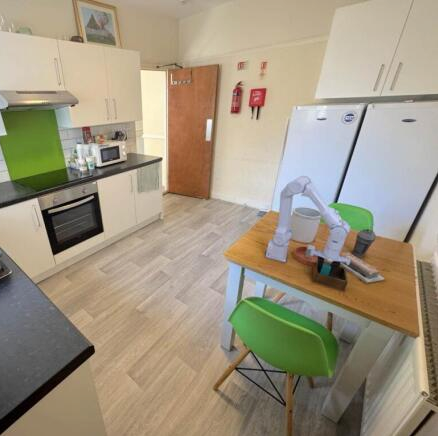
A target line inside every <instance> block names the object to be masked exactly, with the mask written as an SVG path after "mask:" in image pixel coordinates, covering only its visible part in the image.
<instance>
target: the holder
mask: <svg viewBox="0 0 438 436" xmlns="http://www.w3.org/2000/svg"><path fill="white" fill-rule="evenodd" d="M318 268H319V262H318V260H316V263H315V265H314V266H313V269H312V270H313V271H312V273H313V274H312V282H313V283H316V284H319V285H322V286H325V287H328V288H332V289H334V290H339V291H341V292H344V291H345V289H346V287H347V285H348V283H349V281H348V275H347V270H346V268H345V267H342V266H339V267H337V268H335V269H334V270H333V271H332V272H331V273H330V274H329V275H328V276H327V275H323V274H320V271H318Z"/></svg>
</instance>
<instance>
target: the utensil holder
mask: <svg viewBox="0 0 438 436" xmlns="http://www.w3.org/2000/svg"><path fill="white" fill-rule="evenodd" d="M320 213H321V211H320V210H319V208H315V207H312V206H309V205H307V206H306V205H298V206H295V207H292V212H291V221H290V226H291V227H292V229H291V230H292V233H293V237H292V238H291V239H292V240H293V241H296V242H299V243H307V244H308V243H313V241H314V240H315V237H316V235H317V233H318V229H319V226H320V223H321V220H322V217H321V216H320Z"/></svg>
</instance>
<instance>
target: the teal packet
mask: <svg viewBox="0 0 438 436" xmlns="http://www.w3.org/2000/svg"><path fill="white" fill-rule="evenodd" d="M331 263H332V262H330V261H326V262H325V261H324V263H323V265H322V268H321V270H320V274H323V275H327V276H328V275H329V272H330V270H331Z"/></svg>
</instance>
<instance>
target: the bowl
mask: <svg viewBox="0 0 438 436" xmlns="http://www.w3.org/2000/svg"><path fill="white" fill-rule="evenodd" d="M306 249H307V246H302V245H301V246H297V247H295V248H294V250H293V252H292V253H293V254H292V255H293V258H294V259H295V260H296V261H297V262H299V263H301V264H304V265H306V266H310V267H314V265H315V263H316V260H318V256H314V255H313V257H312V258H309V257H305V252H306ZM315 251H320V250H319V249H317V248H315ZM324 261H325V262H327V259H325V258H324Z"/></svg>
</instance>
